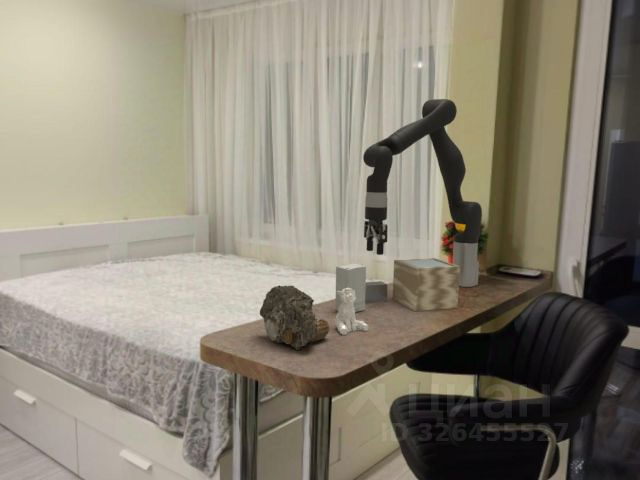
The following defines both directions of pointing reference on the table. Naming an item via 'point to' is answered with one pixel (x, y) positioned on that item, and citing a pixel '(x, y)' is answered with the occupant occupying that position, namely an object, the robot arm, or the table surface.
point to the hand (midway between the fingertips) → (374, 252)
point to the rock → (291, 317)
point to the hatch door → (425, 263)
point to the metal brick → (375, 291)
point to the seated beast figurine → (348, 313)
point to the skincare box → (351, 283)
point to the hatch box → (426, 286)
